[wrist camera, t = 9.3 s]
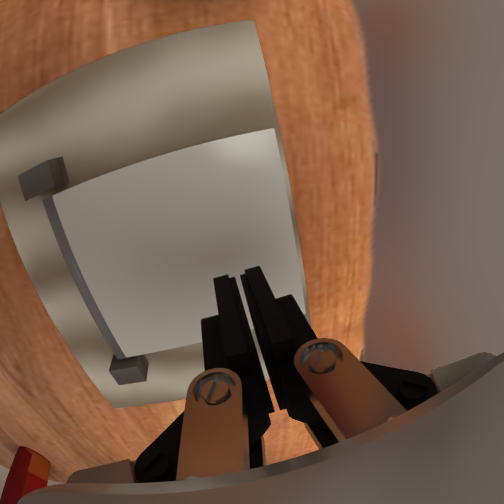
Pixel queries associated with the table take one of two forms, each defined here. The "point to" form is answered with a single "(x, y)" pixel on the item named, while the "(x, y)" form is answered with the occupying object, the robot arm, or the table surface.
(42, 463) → the coffee cup
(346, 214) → the table surface
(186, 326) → the glazed tile
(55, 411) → the table surface
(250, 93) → the tile board
